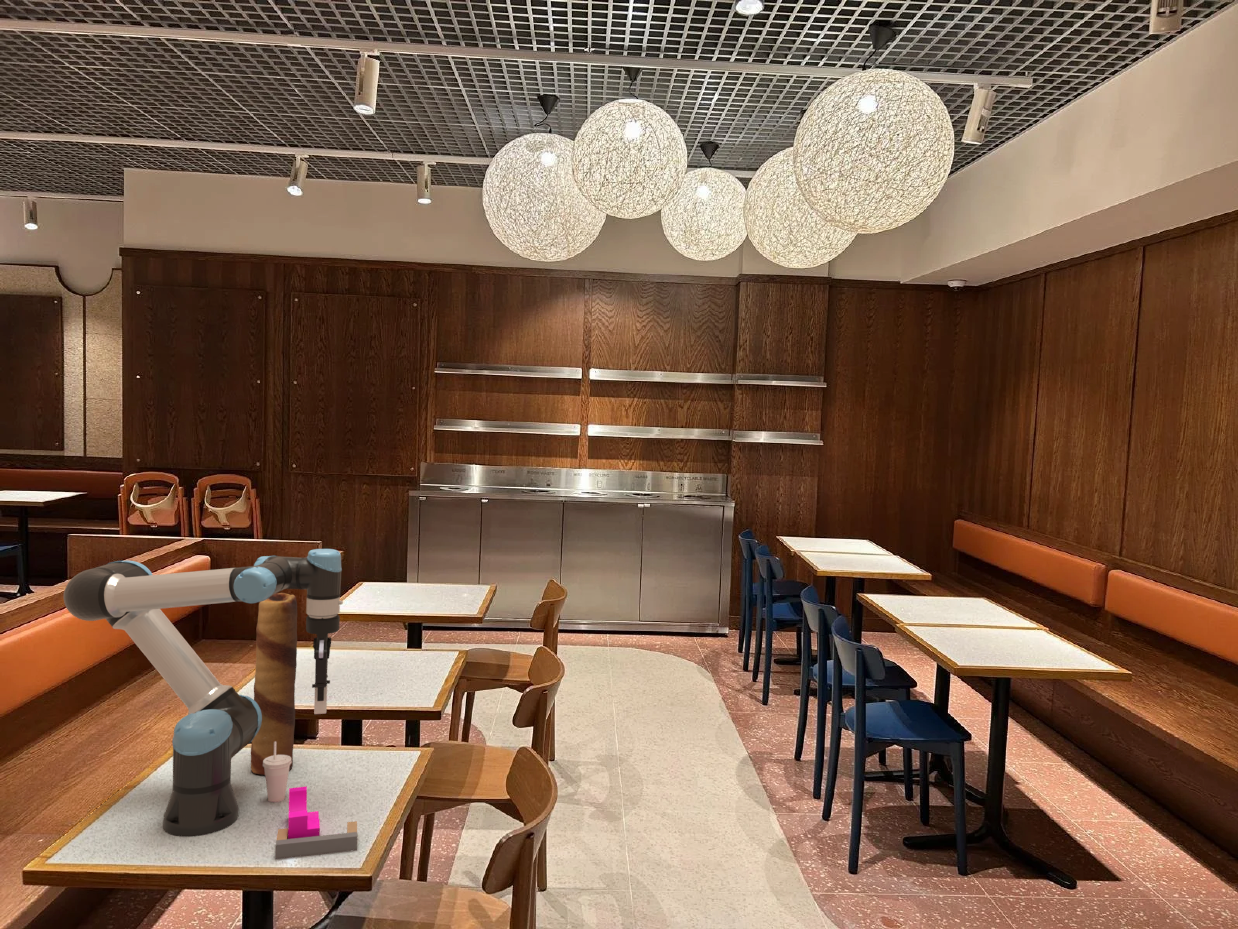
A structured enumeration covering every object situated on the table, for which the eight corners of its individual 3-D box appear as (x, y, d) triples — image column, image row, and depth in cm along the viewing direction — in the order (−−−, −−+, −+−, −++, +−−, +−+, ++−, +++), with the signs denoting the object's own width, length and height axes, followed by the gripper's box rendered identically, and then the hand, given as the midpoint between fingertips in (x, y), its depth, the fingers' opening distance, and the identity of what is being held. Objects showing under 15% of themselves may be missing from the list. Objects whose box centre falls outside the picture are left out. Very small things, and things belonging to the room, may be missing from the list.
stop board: (275, 861, 174) (275, 845, 174) (277, 845, 181) (278, 829, 181) (356, 852, 179) (357, 836, 179) (356, 837, 186) (356, 821, 186)
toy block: (319, 848, 181) (320, 814, 180) (287, 853, 178) (288, 818, 178) (317, 817, 195) (318, 785, 194) (288, 820, 192) (289, 788, 192)
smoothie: (263, 795, 204) (264, 737, 203) (291, 792, 206) (292, 735, 205) (260, 807, 198) (261, 747, 197) (290, 804, 200) (291, 745, 199)
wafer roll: (302, 762, 224) (305, 593, 222) (283, 778, 214) (287, 601, 212) (263, 759, 225) (267, 591, 223) (243, 775, 215) (246, 599, 212)
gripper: (339, 620, 196) (336, 721, 198) (340, 608, 209) (337, 703, 210) (304, 621, 194) (301, 723, 195) (308, 609, 207) (305, 704, 208)
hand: (320, 712), depth 203 cm, fingers closed
